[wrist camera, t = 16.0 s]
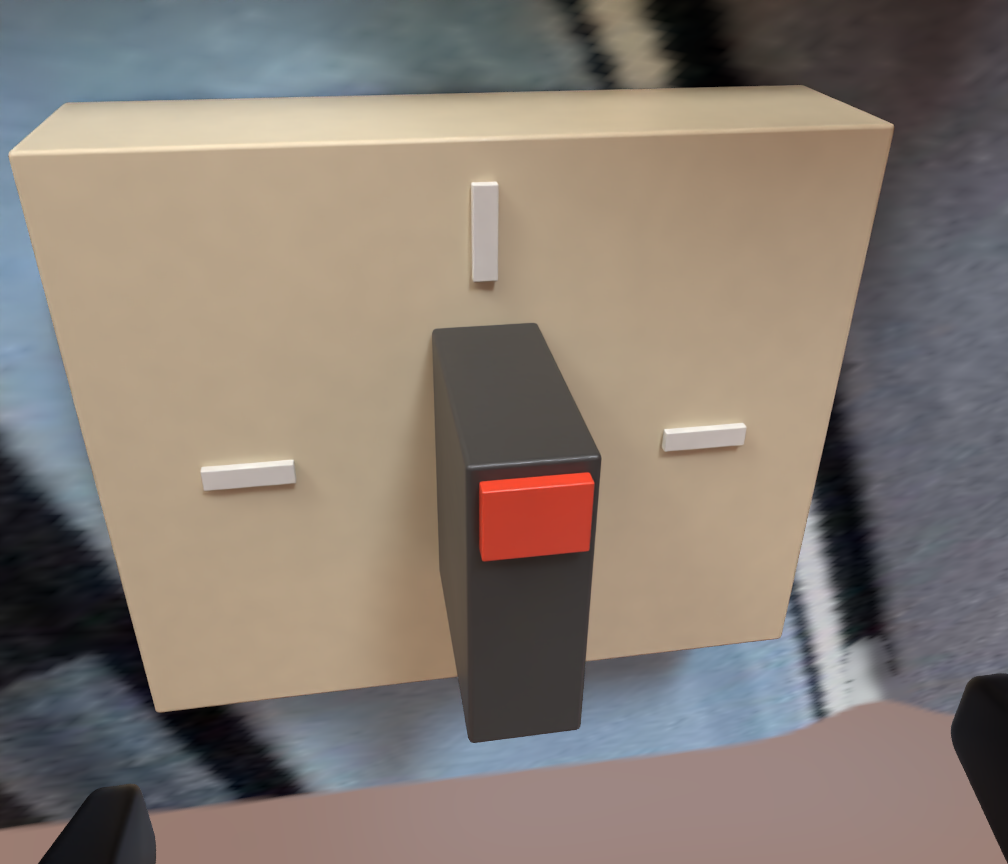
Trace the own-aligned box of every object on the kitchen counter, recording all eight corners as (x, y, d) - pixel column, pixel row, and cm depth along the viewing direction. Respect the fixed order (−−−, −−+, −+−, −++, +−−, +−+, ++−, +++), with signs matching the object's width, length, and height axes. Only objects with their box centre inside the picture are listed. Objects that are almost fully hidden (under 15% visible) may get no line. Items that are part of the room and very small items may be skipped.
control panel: (177, 603, 19) (153, 721, 16) (62, 101, 14) (1, 154, 11) (725, 546, 21) (785, 645, 18) (804, 83, 16) (903, 126, 13)
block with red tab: (529, 561, 16) (585, 744, 13) (439, 570, 16) (471, 760, 12) (538, 321, 14) (609, 466, 10) (431, 326, 14) (468, 479, 10)
